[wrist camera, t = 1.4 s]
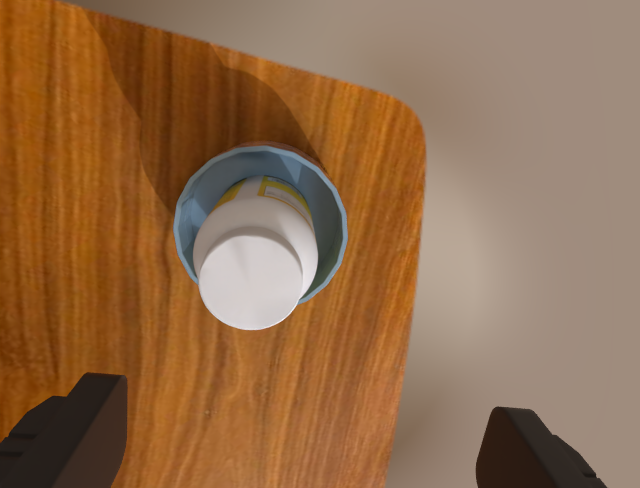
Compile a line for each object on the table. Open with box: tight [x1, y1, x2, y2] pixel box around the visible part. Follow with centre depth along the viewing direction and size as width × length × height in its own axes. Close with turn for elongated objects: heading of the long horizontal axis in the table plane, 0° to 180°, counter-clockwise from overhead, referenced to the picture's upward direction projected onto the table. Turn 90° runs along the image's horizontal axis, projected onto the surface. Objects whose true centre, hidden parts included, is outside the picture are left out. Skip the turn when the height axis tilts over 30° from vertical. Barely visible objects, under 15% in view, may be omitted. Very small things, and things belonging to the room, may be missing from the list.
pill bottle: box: [193, 175, 318, 330], centre depth 26 cm, size 6×6×12 cm
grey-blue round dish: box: [173, 141, 348, 305], centre depth 30 cm, size 11×11×4 cm
